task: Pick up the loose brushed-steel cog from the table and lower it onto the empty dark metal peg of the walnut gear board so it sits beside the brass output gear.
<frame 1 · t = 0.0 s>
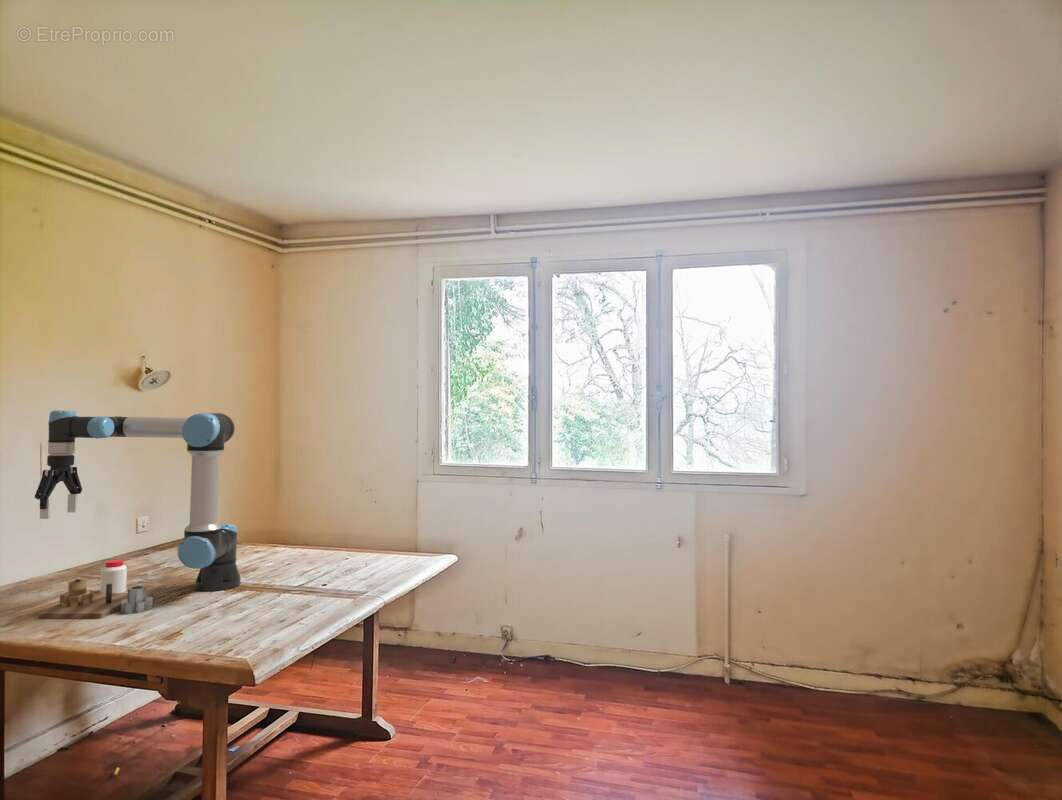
hand: (58, 515, 214), 28 cm above the table, fingers open, 13 cm apart
gear board: (92, 607, 202), on the table
pill bottle: (113, 592, 220), on the table
steel gear: (136, 609, 201), on the table
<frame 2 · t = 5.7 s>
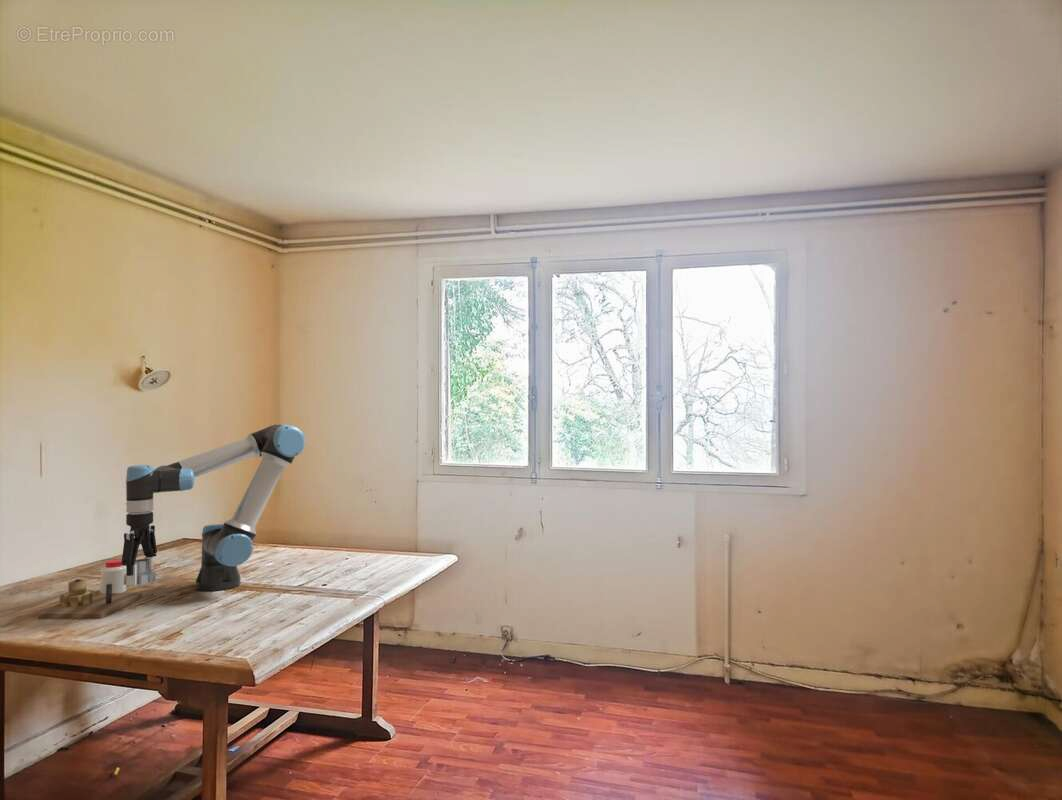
hand: (139, 580, 202), 9 cm above the table, fingers closed on steel gear, 9 cm apart
steel gear: (139, 581, 202), point 9 cm above the table, touching gripper
everything else where it was.
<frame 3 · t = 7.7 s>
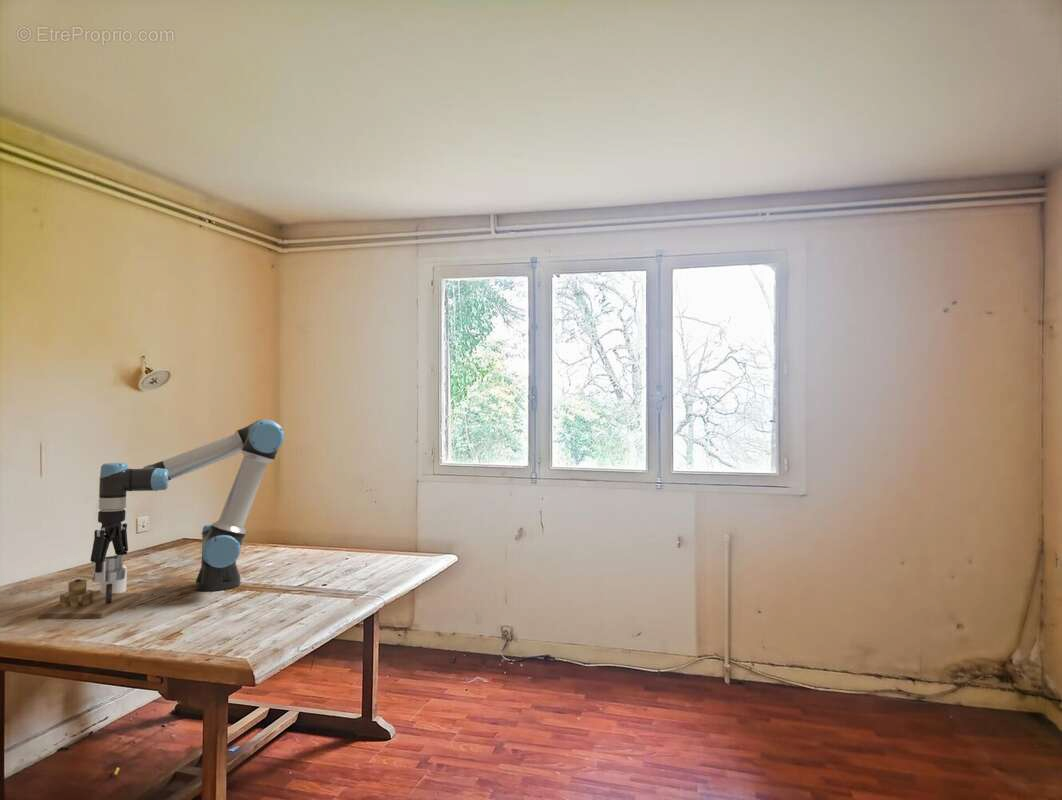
hand: (108, 578, 203), 10 cm above the table, fingers closed on steel gear, 9 cm apart
steel gear: (108, 579, 203), point 9 cm above the table, touching gripper
everything else where it was.
when the fingers open (3 cm above the table, at t = 9.9 s): steel gear drops 2 cm, resting on gear board.
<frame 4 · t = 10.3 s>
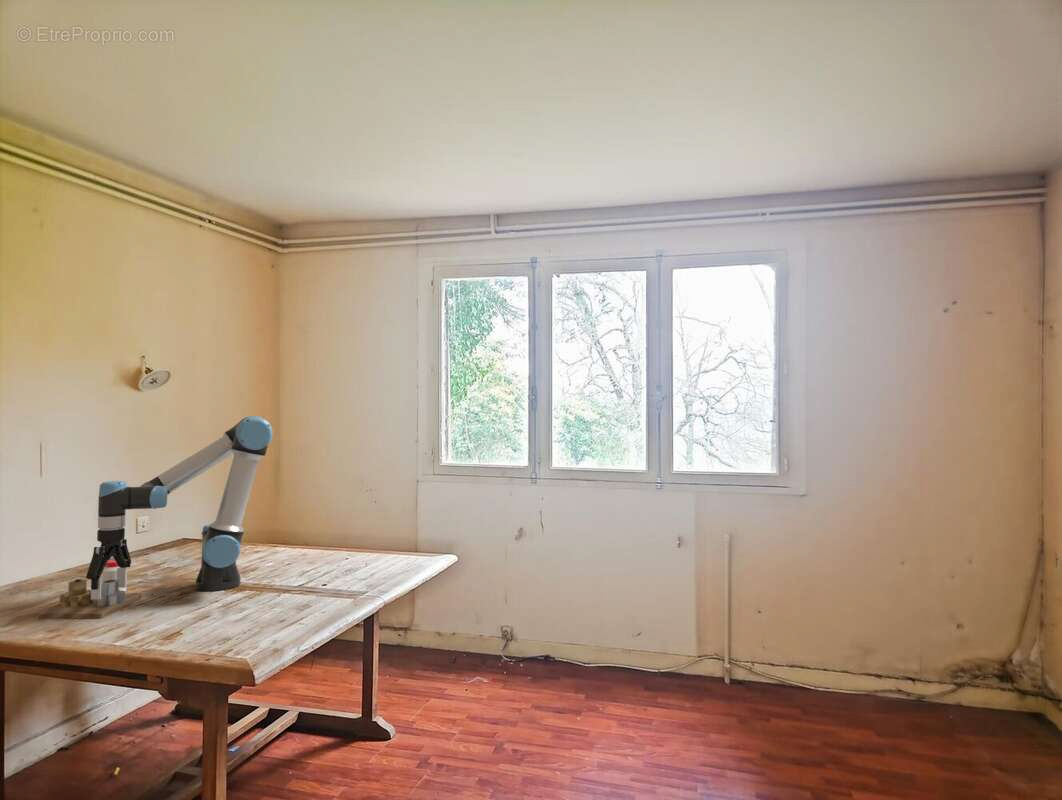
hand: (108, 593, 202), 5 cm above the table, fingers open, 13 cm apart
steel gear: (108, 602, 202), point 1 cm above the table, touching gear board
everything else where it was.
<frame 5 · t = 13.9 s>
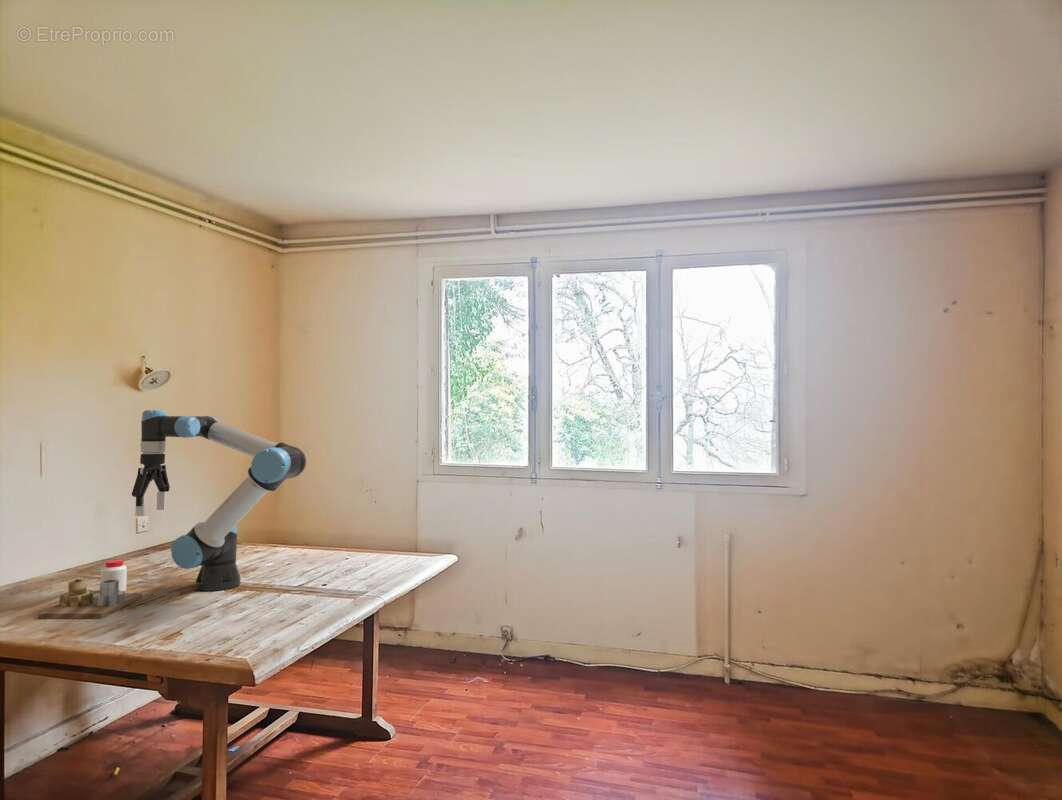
hand: (150, 512, 219), 29 cm above the table, fingers open, 13 cm apart
nothing on the table moved.
at the end: steel gear 0.0 cm from the target spot on the gear board, point 1.5 cm above the gear board's base; steel gear tilted 0°; the gripper is holding nothing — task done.
